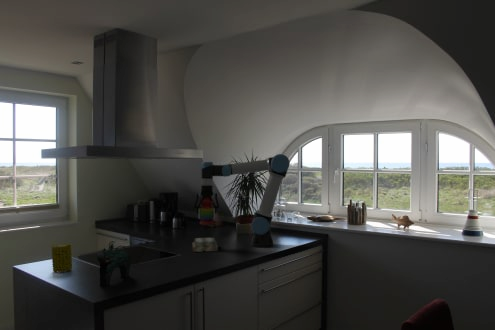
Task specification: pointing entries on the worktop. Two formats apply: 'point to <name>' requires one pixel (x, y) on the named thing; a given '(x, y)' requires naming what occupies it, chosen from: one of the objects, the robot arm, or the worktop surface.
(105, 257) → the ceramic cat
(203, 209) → the stacking bear
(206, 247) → the plinth
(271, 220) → the robot arm
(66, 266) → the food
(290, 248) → the worktop surface
